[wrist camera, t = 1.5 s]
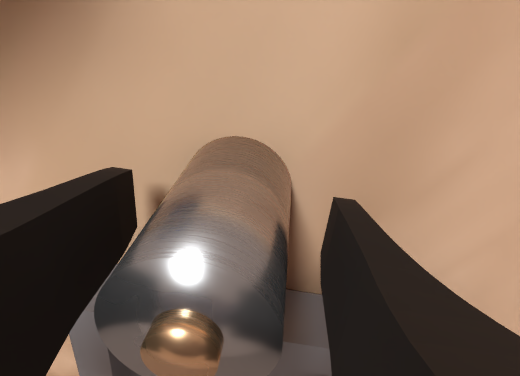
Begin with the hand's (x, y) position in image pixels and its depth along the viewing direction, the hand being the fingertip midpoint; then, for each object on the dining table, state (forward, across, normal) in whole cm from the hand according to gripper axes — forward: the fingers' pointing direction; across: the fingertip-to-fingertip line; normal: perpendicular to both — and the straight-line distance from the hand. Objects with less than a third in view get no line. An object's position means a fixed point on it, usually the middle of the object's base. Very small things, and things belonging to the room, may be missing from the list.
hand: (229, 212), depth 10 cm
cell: (+2, 0, 0) cm, 2 cm away
